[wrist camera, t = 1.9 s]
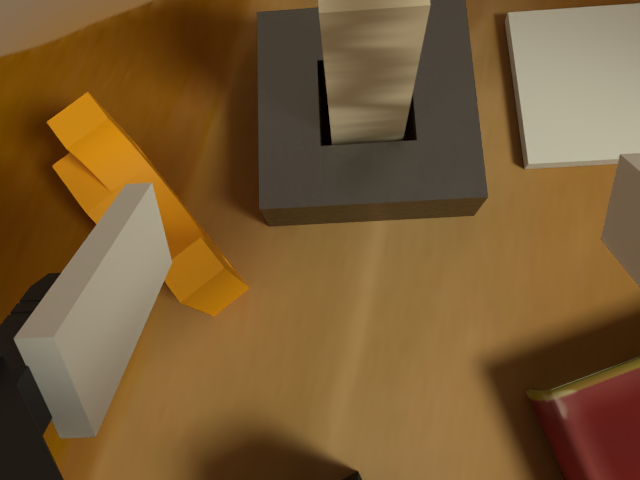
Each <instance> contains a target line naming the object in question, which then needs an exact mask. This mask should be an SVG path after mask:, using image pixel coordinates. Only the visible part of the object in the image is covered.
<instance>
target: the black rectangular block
mask: <svg viewBox="0 0 640 480" xmlns="http://www.w3.org/2000/svg"><path fill="white" fill-rule="evenodd" d="M343 480H362V478H361V476H360V474H359V472H356V473H354V474H352V475H350V476H349V477H347V478H345V479H343Z"/></svg>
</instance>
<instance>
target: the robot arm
mask: <svg viewBox="0 0 640 480" xmlns="http://www.w3.org/2000/svg"><path fill="white" fill-rule="evenodd" d="M601 240H602V242H603V243H604V244H605V245H606V247H607V248H608V249H609V250H610V251H611V253H612V254H613V255H614V256H615V258H616V259H617V260H618V261H619V262H620V264H621V265H622V266H623V267H624V269H625V270H626V271H627V272H628V273H629V275H630V276H631V277H632V278H633V280H634V281H635V282H636V283H637V285H638V286H639V287H640V153H631V154H620V156H619V160H618V165H617V169H616V174H615V178H614V183H613V187H612V192H611V196H610V201H609V205H608V210H607V214H606V219H605V223H604V228H603V232H602V237H601ZM171 264H172V260H171V256H170V252H169V248H168V244H167V240H166V236H165V232H164V228H163V224H162V220H161V216H160V212H159V208H158V204H157V200H156V196H155V192H154V188H153V184H152V183H136V184H126V185H125V186H124V188H123V189H122V190H121V192H120V193H119V194H118V196H117V197H116V199H115V200H114V201H113V203H112V204H111V205H110V207H109V208H108V210H107V211H106V212H105V214H104V215H103V216H102V218H101V219H100V220H99V222H98V223H97V225H96V226H95V227H94V229H93V230H92V231H91V233H90V234H89V236H88V237H87V238H86V240H85V241H84V242H83V244H82V245H81V247H80V248H79V249H78V251H77V252H76V253H75V255H74V256H73V258H72V259H71V260H70V262H69V263H68V264H67V266H66V267H65V269H64V270H63V271H62V273H51V274H48V275H46V276H45V277H43V278H42V279H41V280H39V281H38V282H36V283H35V284H34V285H32V286H31V287H30V288H29V289H28V291H27V292H26V293H25V295H24V296H23V297H22V298H21V300H20V303H18V304H17V305H16V306H15V307H14V309H13V310H12V311H11V315H8V316H7V318H6V319H5V320H4V321H3V323H2V324H1V325H0V480H64V479H63V477H62V475H61V473H60V471H59V469H58V467H57V465H56V463H55V460H54V458H53V456H52V454H51V452H50V450H49V448H48V446H47V444H46V442H45V440H44V438H43V434H44V432H45V430H46V428H47V426H48V425H49V423H50V421H51V420H52V422H53V424H54V426H55V428H56V430H57V432H58V435H59V437H60V438H82V437H96V435H97V433H98V431H99V428H100V426H101V424H102V422H103V419H104V417H105V415H106V412H107V410H108V408H109V406H110V403H111V401H112V399H113V396H114V394H115V392H116V390H117V387H118V385H119V383H120V380H121V378H122V376H123V374H124V371H125V369H126V367H127V365H128V362H129V360H130V358H131V355H132V353H133V351H134V349H135V346H136V344H137V342H138V339H139V337H140V335H141V333H142V330H143V328H144V326H145V323H146V321H147V319H148V317H149V314H150V312H151V310H152V308H153V305H154V303H155V301H156V298H157V296H158V294H159V292H160V289H161V287H162V285H163V282H164V280H165V278H166V276H167V273H168V271H169V269H170V266H171Z"/></svg>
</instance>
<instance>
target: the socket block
mask: <svg viewBox="0 0 640 480" xmlns="http://www.w3.org/2000/svg"><path fill="white" fill-rule="evenodd" d="M430 4H431V6H430V11H429V15H428V20H427V25H426V30H425V35H424V40H423V45H422V50H421V55H420V59H419V64H418V69H417V74H416V79H415V84H414V89H413V94H412V99H411V103H410V108H409V113H408V118H407V125H408V137H409V141H396V142H379V143H363V144H346V145H329V146H323V131H322V107H321V91H327V89H326V79H325V69H324V59H323V50H322V40H321V30H320V20H319V8H307V9H293V10H280V11H266V12H257V69H258V157H259V210H260V212H261V213H262V215H263V217H264V219H265V220H266V222H267V224H268V225H269V226H286V225H305V224H324V223H343V222H363V221H382V220H401V219H420V218H439V217H458V216H474V215H475V214H476V212H477V211H478V210H479V208H480V207H481V206H482V204H483V203H484V202H485V200H486V199H487V198H488V193H487V184H486V176H485V167H484V158H483V149H482V141H481V132H480V123H479V115H478V106H477V97H476V88H475V80H474V71H473V62H472V54H471V45H470V36H469V27H468V19H467V10H466V1H465V0H430Z"/></svg>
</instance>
